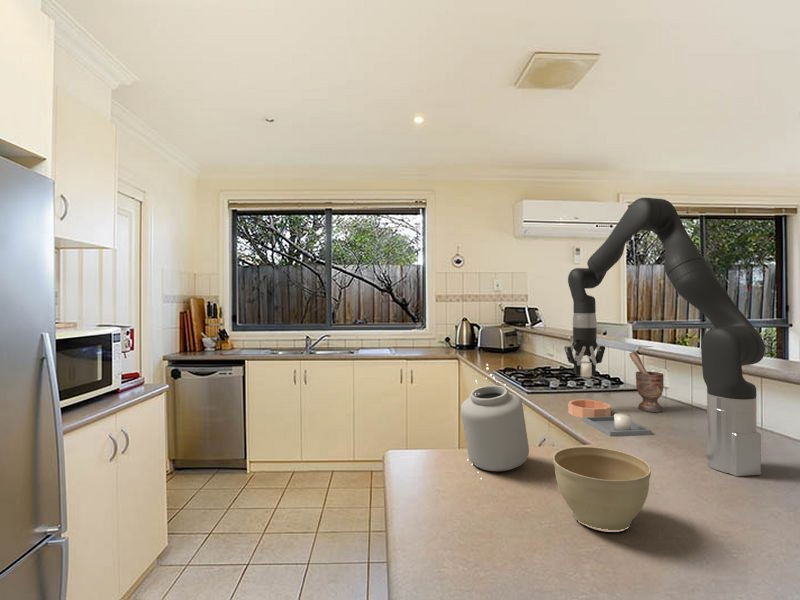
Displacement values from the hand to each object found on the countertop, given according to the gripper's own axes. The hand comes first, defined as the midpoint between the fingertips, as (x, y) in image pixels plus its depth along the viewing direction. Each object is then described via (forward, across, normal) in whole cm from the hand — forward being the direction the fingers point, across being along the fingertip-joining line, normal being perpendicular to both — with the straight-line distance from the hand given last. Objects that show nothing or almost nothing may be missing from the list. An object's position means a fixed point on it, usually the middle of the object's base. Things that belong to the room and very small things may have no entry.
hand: (585, 375), depth 149 cm
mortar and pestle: (+13, +24, +3) cm, 28 cm away
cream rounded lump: (0, 0, 0) cm, 0 cm away
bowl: (+13, 0, -3) cm, 14 cm away
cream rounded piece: (+12, 0, -22) cm, 25 cm away
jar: (+13, -45, -41) cm, 62 cm away
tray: (+13, 0, -18) cm, 22 cm away
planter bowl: (+13, -33, -68) cm, 76 cm away
